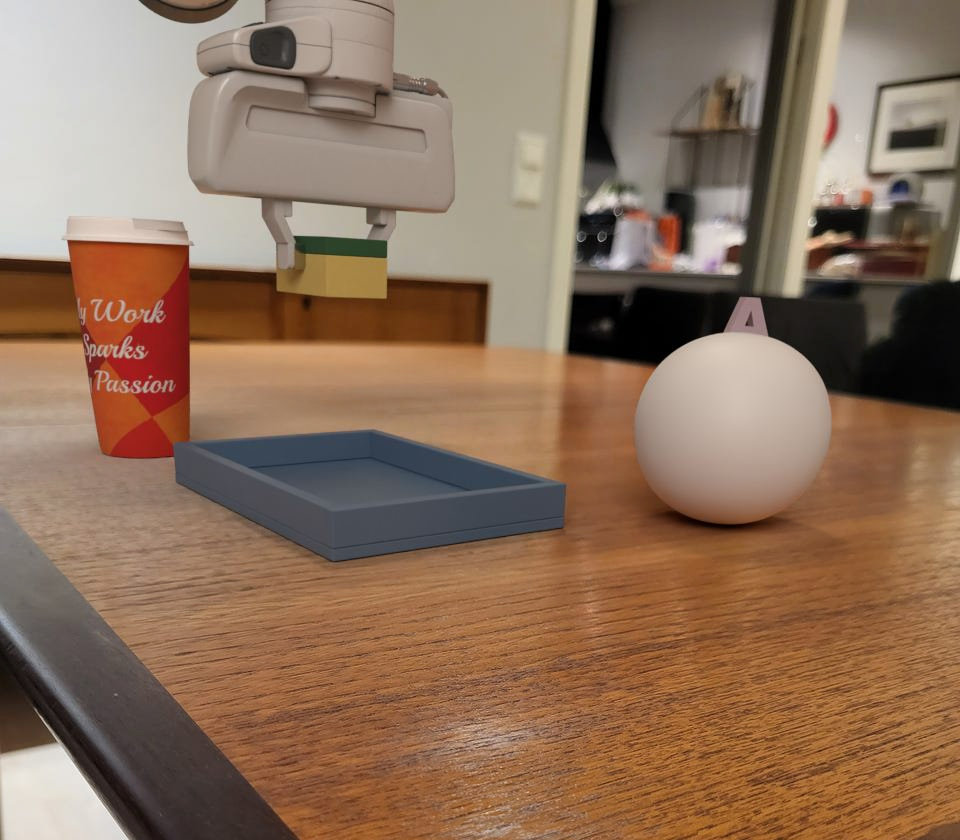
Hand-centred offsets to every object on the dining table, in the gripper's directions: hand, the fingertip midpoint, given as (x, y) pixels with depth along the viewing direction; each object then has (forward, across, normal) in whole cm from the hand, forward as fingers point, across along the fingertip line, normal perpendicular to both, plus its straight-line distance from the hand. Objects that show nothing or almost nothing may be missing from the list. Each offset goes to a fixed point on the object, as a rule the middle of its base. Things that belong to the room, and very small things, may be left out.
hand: (330, 271), depth 75 cm
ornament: (+12, -6, +34) cm, 37 cm away
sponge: (+2, 0, 0) cm, 2 cm away
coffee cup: (+12, +15, 0) cm, 19 cm away
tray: (+12, +10, +21) cm, 26 cm away
